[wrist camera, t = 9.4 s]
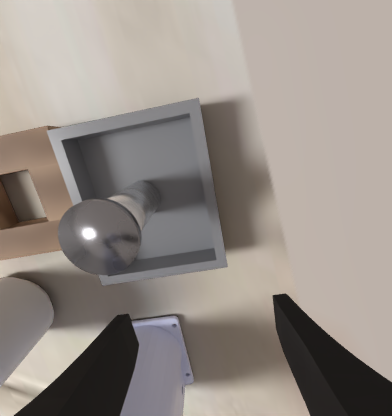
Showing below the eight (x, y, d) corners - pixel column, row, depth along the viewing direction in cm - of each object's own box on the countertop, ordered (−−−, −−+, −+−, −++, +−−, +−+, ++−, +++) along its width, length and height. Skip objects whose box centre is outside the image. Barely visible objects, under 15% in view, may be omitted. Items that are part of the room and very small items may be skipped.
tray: (224, 250, 21) (227, 267, 18) (115, 267, 22) (102, 285, 19) (199, 104, 18) (198, 97, 15) (70, 132, 19) (46, 130, 16)
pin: (170, 215, 20) (147, 268, 11) (127, 223, 20) (74, 280, 12) (159, 170, 18) (125, 193, 10) (114, 179, 19) (45, 209, 11)
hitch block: (99, 236, 21) (89, 245, 19) (5, 252, 22) (-14, 262, 20) (63, 127, 18) (46, 125, 17) (-44, 150, 19) (-71, 151, 17)
